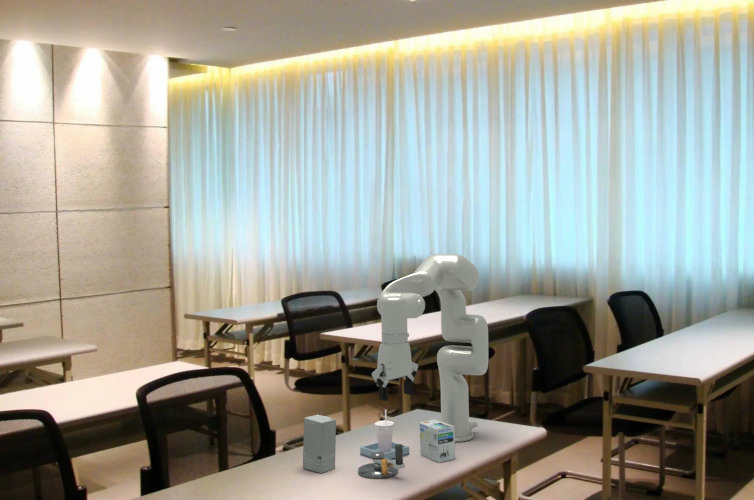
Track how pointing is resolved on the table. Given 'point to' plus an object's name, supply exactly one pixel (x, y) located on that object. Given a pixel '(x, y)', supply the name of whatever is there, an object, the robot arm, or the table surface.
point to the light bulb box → (437, 440)
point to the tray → (389, 455)
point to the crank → (391, 463)
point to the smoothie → (384, 434)
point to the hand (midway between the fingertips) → (396, 397)
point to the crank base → (377, 470)
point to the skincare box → (319, 443)
